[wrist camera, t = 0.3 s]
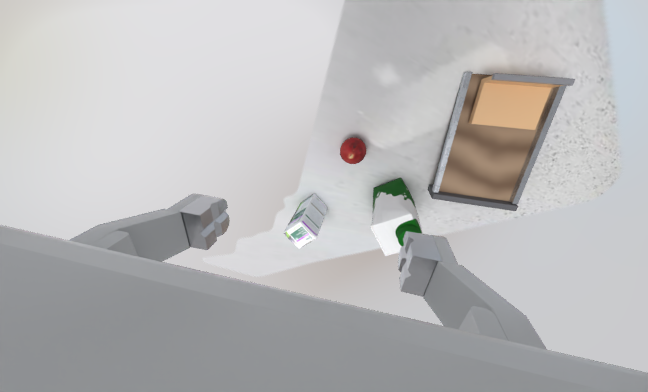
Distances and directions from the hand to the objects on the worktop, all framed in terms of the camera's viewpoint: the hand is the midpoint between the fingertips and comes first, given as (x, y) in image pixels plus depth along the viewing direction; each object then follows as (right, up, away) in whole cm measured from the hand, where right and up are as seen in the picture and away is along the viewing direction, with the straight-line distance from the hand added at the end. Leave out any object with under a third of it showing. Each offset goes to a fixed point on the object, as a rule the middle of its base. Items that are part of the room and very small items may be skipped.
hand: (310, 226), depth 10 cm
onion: (+8, +13, +45) cm, 48 cm away
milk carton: (+18, +2, +49) cm, 52 cm away
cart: (+36, +19, +35) cm, 53 cm away
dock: (+35, +13, +39) cm, 54 cm away
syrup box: (-2, -1, +55) cm, 55 cm away
